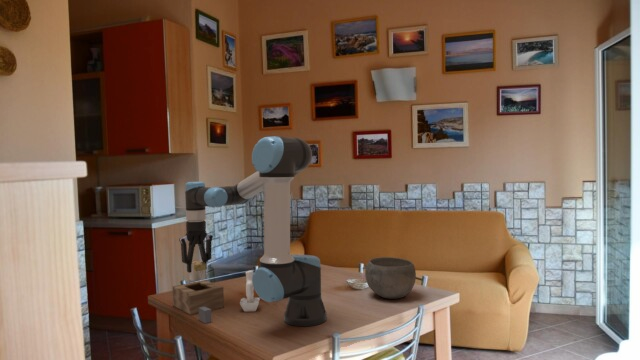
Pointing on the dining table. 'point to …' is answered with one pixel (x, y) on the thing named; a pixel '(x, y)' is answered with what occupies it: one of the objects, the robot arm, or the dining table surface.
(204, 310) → the stand
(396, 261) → the bowl
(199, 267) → the pale yellow block
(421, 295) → the dining table surface
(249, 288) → the figurine
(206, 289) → the brown wooden box
